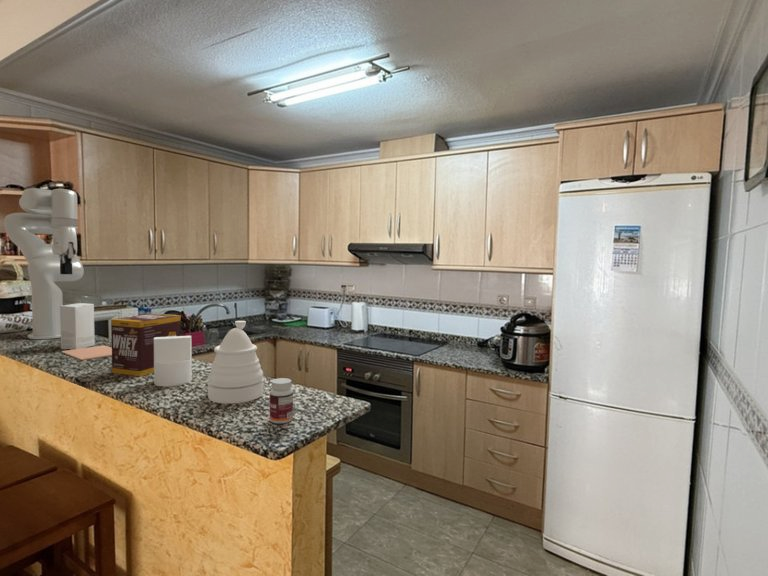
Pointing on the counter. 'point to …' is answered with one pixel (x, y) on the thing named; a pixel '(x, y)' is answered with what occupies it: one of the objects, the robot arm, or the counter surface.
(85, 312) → the skincare box
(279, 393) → the pill bottle
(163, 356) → the cylinder with rectangular tab
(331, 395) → the counter surface
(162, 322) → the supplement box
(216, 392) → the honey pot
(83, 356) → the mat
